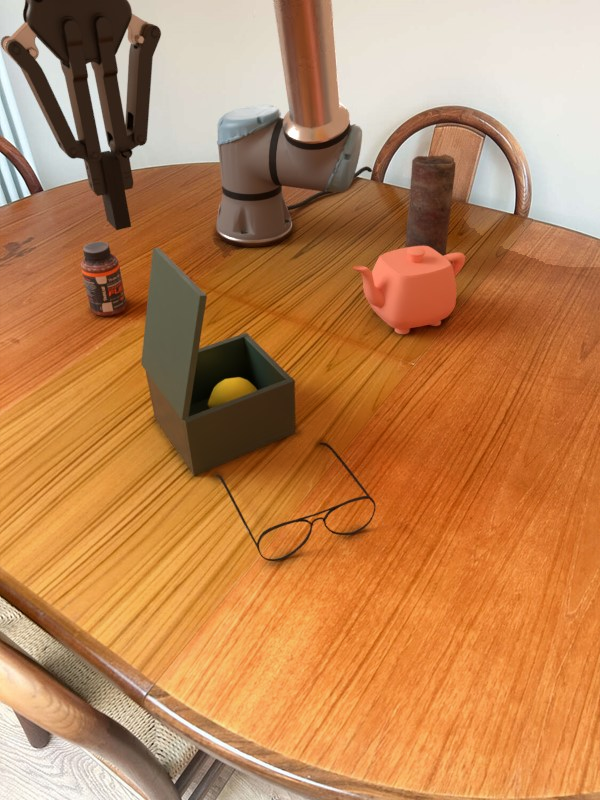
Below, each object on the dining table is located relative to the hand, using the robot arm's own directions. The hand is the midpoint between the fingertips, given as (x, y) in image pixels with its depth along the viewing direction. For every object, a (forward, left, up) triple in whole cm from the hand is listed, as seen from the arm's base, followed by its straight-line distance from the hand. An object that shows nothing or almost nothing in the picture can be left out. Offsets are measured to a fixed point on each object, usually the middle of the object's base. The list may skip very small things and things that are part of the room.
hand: (119, 223), depth 64 cm
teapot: (-46, -8, -31) cm, 56 cm away
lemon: (-11, -1, -30) cm, 32 cm away
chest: (-9, 0, -31) cm, 32 cm away
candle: (-60, -20, -31) cm, 70 cm away
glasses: (-10, +16, -31) cm, 36 cm away
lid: (-4, 0, -14) cm, 15 cm away
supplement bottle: (-6, -37, -31) cm, 49 cm away
